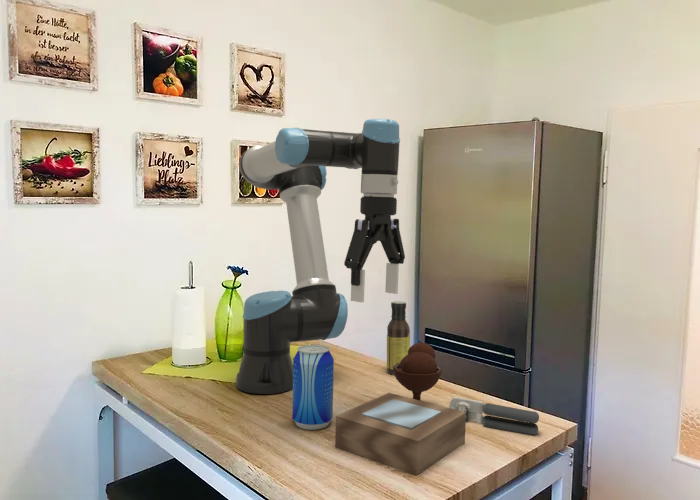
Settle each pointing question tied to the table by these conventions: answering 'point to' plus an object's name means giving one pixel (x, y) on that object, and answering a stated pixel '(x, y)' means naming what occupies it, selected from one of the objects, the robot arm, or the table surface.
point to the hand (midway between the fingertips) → (375, 297)
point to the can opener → (478, 407)
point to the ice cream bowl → (418, 369)
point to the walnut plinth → (401, 432)
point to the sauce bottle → (397, 336)
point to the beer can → (313, 387)
